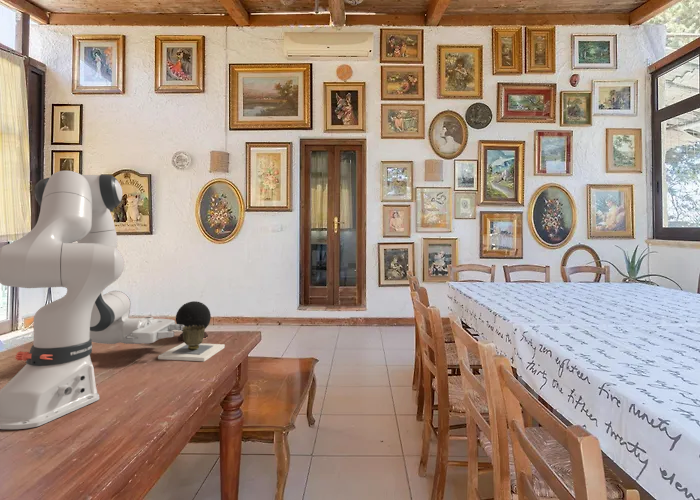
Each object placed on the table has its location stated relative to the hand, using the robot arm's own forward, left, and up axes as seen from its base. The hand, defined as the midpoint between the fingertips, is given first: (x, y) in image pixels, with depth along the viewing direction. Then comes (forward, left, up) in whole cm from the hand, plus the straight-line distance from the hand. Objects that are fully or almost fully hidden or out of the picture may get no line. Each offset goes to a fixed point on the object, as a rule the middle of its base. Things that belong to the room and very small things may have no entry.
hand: (178, 330), depth 130 cm
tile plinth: (+1, -5, -8) cm, 9 cm away
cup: (+1, -5, -7) cm, 8 cm away
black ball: (+20, +5, -8) cm, 22 cm away
